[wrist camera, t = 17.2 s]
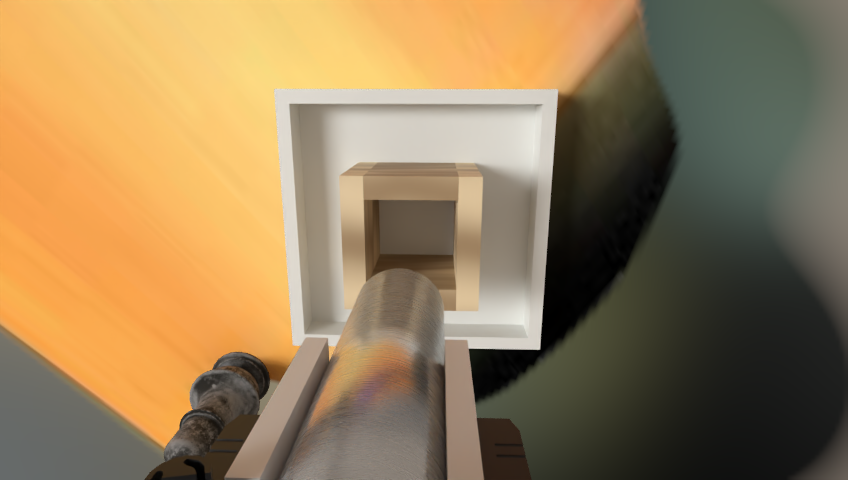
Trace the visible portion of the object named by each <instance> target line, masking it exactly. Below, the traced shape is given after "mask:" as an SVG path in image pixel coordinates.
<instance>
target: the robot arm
mask: <svg viewBox="0 0 848 480" xmlns="http://www.w3.org/2000/svg"><path fill="white" fill-rule="evenodd" d="M328 364H329V348H328V338H318V337H306V338H305V340H304V341H303V343H302V345H301V346H300V348H299V350H298V352H297V353H296V355H295V357H294V358H293V360H292V362H291V364H290V365H289V367H288V369H287V370H286V372H285V374H284V376H283V377H282V379H281V381H280V382H279V384H278V386H277V388H276V390H275V391H274V393H273V395H272V396H271V398H270V400H269V401H268V403H267V405H266V407H265V408H264V410H263V412H262V413H261V415H242V414H240V415H239V416H238V417H236V418H235V419H234V420H232V421H231V422H230V423H228V424H227V425H226V426H225V427H224V429H223V430H222V432H221V433H220V435H219V436H218V438H217V441H215V442H214V444H213V445H212V447H211V448H210V451H209V452H208V453H207V454H206V455H205V457H204V458H203V457H201V456H198V455H186V456H181V457H177V458H173V459H171V460H169V461H166V462H164V463H162V464H161V465H159V466H158V467H156V468H155V469H154V470H152V471H151V472H150V473H149V475H148V476H147V477H146V478H145V480H279V478H280V475H281V473H282V471H283V468H284V466H285V464H286V461H287V459H288V457H289V454H290V452H291V450H292V447H293V445H294V443H295V441H296V438H297V436H298V434H299V431H300V429H301V427H302V424H303V422H304V420H305V417H306V415H307V413H308V410H309V408H310V406H311V403H312V401H313V399H314V396H315V394H316V392H317V389H318V387H319V385H320V382H321V380H322V378H323V376H324V373H325V371H326V369H327V366H328ZM444 371H445V429H446V480H531V476H530V473H529V468H528V464H527V460H526V457H525V452H524V448H523V443H522V439H521V435H520V431H519V430H518V429H517V427H516V426H515V425H514V424H513V423H512V422H511V421H510V419H493V418H477V417H476V409H475V400H474V392H473V383H472V375H471V366H470V358H469V349H468V341H467V340H445V364H444Z"/></svg>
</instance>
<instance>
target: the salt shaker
mask: <svg viewBox="0 0 848 480" xmlns="http://www.w3.org/2000/svg"><path fill="white" fill-rule="evenodd" d="M269 384H270V378H269V373H268V371H267V369H266V367H265V365H264V364H263V363H262V362H261V361H260V360H259V359H257V358H256V357H254V356H252V355H250V354H247V353H242V352H233V353H229V354H226V355H224V356H222V357H221V358H220V359H218V361H217V362H216V363H215V365H214V367H213V369H212V370H210V371H207V372H205V373H203V374H202V375H200V376H199V377H198V378H197V379H196V380H195V382H194V383H193V384H192V387H191V390H190V403H191V406H192V409H193V410H191V411H189V412H188V413H186V414H185V415H184V416H183V418H182V419H181V422H180V429H179V430H178V432H177V433H176V434H175V435H174V437H173V438H172V439H171V440H170V442H169V443H168V444H167V446H166V448H165V451H164V459H165V462H166V461H169V460H171V459H173V458H177V457H181V456H186V455H198V456H201V457H203V458H204V457H205V455H206V454H207V453H208V452H209V451H210V448H211V447H212V445H213V444H214V442H215V441H217V438H218V436H219V435H220V433H221V432H222V430H223V429H224V427H225V426H226V425H227V424H228V423H230V422H231V421H232V420H234V419H235V418H236V417H238V416H239V415H240V414H242V415H257V413H258V411H259V404H260V401H259V400H260V399H262V398H263V397H264V395H265V394H266V392H267V391H268V388H269Z"/></svg>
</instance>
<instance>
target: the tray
mask: <svg viewBox="0 0 848 480" xmlns="http://www.w3.org/2000/svg"><path fill="white" fill-rule="evenodd" d="M274 93H275V107H276V120H277V134H278V148H279V161H280V175H281V189H282V202H283V216H284V229H285V243H286V257H287V270H288V284H289V298H290V311H291V325H292V339H293V345H296V346H301V345H302V343H303V341H304V340H305V338H306V337H318V338H328V346H336V345H337V343H338V341H339V338H340V336H341V334H342V331H343V329H344V327H345V324H346V322H347V320H348V317H349V315H350V313H351V311H352V309H345V308H344V284H343V260H342V236H341V211H340V187H339V176H340V175H341V174H342V173H344V172H345V171H347V170H348V169H350V168H351V167H353V166H354V165H356V164H357V163H359V162H419V163H475V165H476V166H477V168H478V170H479V171H480V173H481V175H482V176H483V192H482V221H481V249H480V278H479V307H478V311H444V334H445V340H467V341H468V348H476V349H536V350H540V341H541V327H542V313H543V298H544V284H545V270H546V256H547V242H548V228H549V213H550V199H551V185H552V171H553V157H554V143H555V128H556V114H557V100H558V89H274ZM379 225H380V254H420V255H453V236H454V201H453V200H379Z"/></svg>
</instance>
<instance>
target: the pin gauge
mask: <svg viewBox="0 0 848 480" xmlns="http://www.w3.org/2000/svg"><path fill="white" fill-rule="evenodd" d="M444 364H445V334H444V304H443V300H442V297H441V294H440V292H439V290H438V289H437V287H436V286H435V285H434V284H433V283H432V281H430V280H429V279H428V278H427V277H425V276H424V275H422V274H420V273H418V272H416V271H413V270H409V269H402V268H395V269H388V270H385V271H382V272H380V273H377V274H376V275H374V276H373V277H371V278H370V279H369V280H368V281H367V282H366V283H365V284H364V285H363V287H362V288H361V290H360V292H359V294H358V297H357V299H356V301H355V304H354V306H353V308H352V311H351V313H350V315H349V317H348V320H347V322H346V324H345V327H344V329H343V331H342V334H341V336H340V338H339V341H338V343H337V345H336V348H335V350H334V352H333V355H332V357H331V359H330V362H329V364H328V366H327V369H326V371H325V373H324V376H323V378H322V380H321V382H320V385H319V387H318V389H317V392H316V394H315V396H314V399H313V401H312V403H311V406H310V408H309V410H308V413H307V415H306V417H305V420H304V422H303V424H302V427H301V429H300V431H299V434H298V436H297V438H296V441H295V443H294V445H293V447H292V450H291V452H290V454H289V457H288V459H287V461H286V464H285V466H284V468H283V471H282V473H281V475H280V478H279V480H446V429H445V371H444Z"/></svg>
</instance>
